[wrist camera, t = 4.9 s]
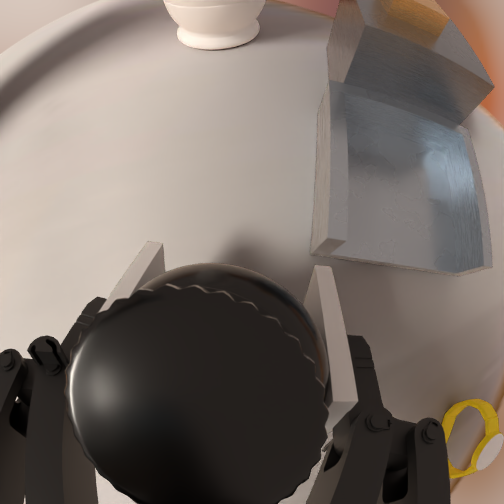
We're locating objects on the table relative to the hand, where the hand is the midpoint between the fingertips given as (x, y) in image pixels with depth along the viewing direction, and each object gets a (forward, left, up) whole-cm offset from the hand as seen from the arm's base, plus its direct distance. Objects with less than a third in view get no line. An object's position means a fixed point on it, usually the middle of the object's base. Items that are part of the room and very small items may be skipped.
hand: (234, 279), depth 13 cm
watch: (+17, -10, -4) cm, 20 cm away
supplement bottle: (0, -4, -4) cm, 5 cm away
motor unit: (+11, +13, -3) cm, 17 cm away
